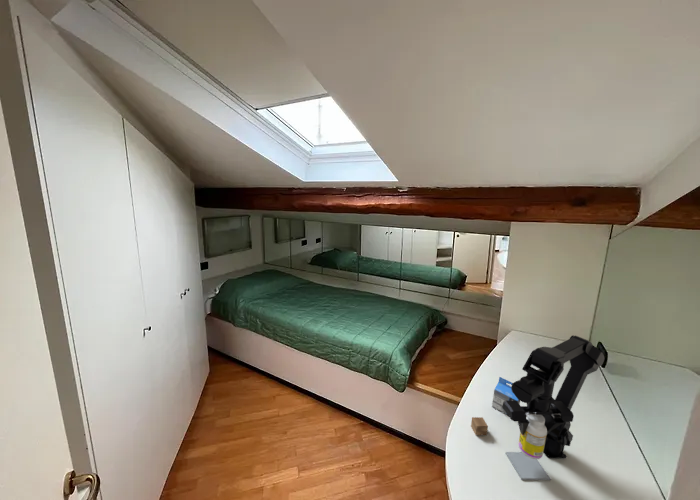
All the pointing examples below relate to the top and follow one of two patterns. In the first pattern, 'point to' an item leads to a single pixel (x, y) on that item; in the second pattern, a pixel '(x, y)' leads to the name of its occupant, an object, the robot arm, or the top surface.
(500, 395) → the label tape cartridge
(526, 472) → the slate pad
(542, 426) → the supplement bottle
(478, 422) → the walnut block
